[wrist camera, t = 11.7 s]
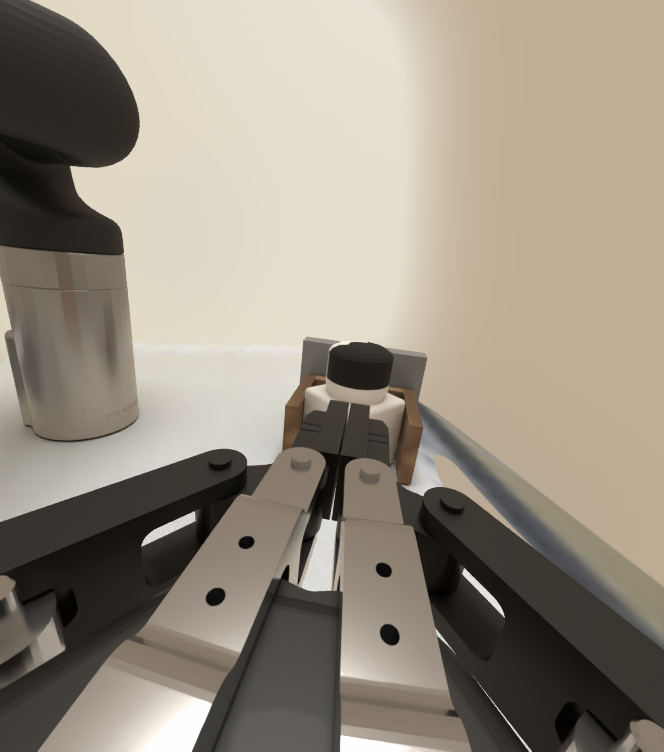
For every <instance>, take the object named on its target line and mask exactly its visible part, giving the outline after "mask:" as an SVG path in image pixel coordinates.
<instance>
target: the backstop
mask: <svg viewBox="0 0 664 752" xmlns="http://www.w3.org/2000/svg"><path fill="white" fill-rule="evenodd" d="M339 342H341V341H334V340H326V339H319V338H311V337H306V338H305V340H303V352H302V364H301V376H300V383H301V382H302V380H303V379H304V377H305V376H306V374H310V375H316V376H323V377H326V374H327V364H328V355H329V349H330V347H331V346H332V345H334V344H336V343H339ZM386 349H387V350H389V351H390V352H391V353H392V355H393V357H394V361H393V366H392V372H391V377H390V383H389V387H396V388H402V389H409V390H414V394H415V398H416V401H417V404H418V399H419V394H420V389H421V385H422V380H423V375H424V370H425V366H426V361H427V357H426V354H425V353H419V352H412V351H405V350H397V349H391V348H386Z"/></svg>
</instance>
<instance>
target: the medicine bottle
mask: <svg viewBox="0 0 664 752" xmlns="http://www.w3.org/2000/svg"><path fill="white" fill-rule="evenodd" d="M393 361H394V357H393V355H392V353H391V352H390V351H389V350H387V349H386V348H384V347H382V346H380V345H377V344H374V343H370V342H364V341H342V342H339V343H336V344H334V345H332V346H331V347H330V349H329V355H328V364H327V374H326V384H324V385H319V386H314V387H309V388H307V389H306V391H305V400H304V411H303V421H304V419H305V416H306V415H307V414H309V413H310V412H312V411H313V410H319V411H325V412H326V410H327V408H328V405H329V402H330V399H331V400H337V401H343V402H349V410H350V405H351V403H357V404H363V405H369V406H370V415H369V419H376V420H382V421H383V422H384V423H385V424H386V426H387V427H388V428H389V449H390V464H391V463H393V461H394V457H395V452H396V447H397V442H398V437H399V432H400V427H401V422H402V417H403V412H404V407H405V401H404V400H402V399H400V398H398V397H396V396H394V395H391V394H389V393H387V392H388V389H389V383H390V377H391V372H392V366H393ZM349 410H348V415H349ZM347 420H348V417H347ZM302 424H303V422H302Z"/></svg>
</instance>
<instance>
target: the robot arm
mask: <svg viewBox="0 0 664 752" xmlns="http://www.w3.org/2000/svg"><path fill="white" fill-rule="evenodd" d="M139 123H140V121H139V112H138V108H137V104H136V101H135V98H134V95H133V92H132V90H131V88H130V86H129V84H128V82H127V80H126V78H125V76H124V75H123V73H122V72H121V70H120V68H119V67H118V65H117V64H116V62H115V61H114V60H113V59H112V57H111V56H110V55H109V54H108V52H107V51H106V50H105V49H104V48H103V47H102V46H101V45H100V44H99V43H98V42H97V41H96V39H94V37H92V36H91V35H90V34H89V33H88V32H87V31H85V30H84V29H83V28H81V27H80V26H79V25H77V24H76V23H74V22H73V21H71V20H69V19H68V18H66V17H64V16H62V15H60V14H57V13H55V12H54V11H51V10H49V9H47V8H45V7H43V6H41V5H39V4H37V3H34V2H32V1H30V0H0V277H1V281H2V285H3V290H4V294H5V299H6V304H7V309H8V314H9V318H10V323H11V327H12V330H9V331H7V332H6V333H5V341H6V345H7V350H8V355H9V359H10V364H11V368H12V373H13V377H14V382H15V386H16V391H17V395H18V400H19V404H20V409H21V413H22V418H23V422H24V424H25V425H30V426H32V427H33V430H34V432H35V433H36V434H37V435H39V436H41V437H44V438H48V439H53V440H80V439H88V438H94V437H98V436H103V435H106V434H109V433H113V432H115V431H118V430H120V429H122V428H124V427H126V426H128V425H130V424H131V423H132V422H133V421H135V419H136V418H137V417H138V414H139V410H138V399H137V388H136V376H135V365H134V355H133V344H132V333H131V323H130V312H129V302H128V290H127V281H126V270H125V259H124V255H123V253H124V248H123V238H122V232H121V229H120V227H119V226H118V225H117V223H115V222H114V221H113V220H111V219H109V218H107V217H105V216H104V215H102V214H100V213H98V212H96V211H95V210H93V209H92V208H90V207H89V206H88V205H87V204H85V202H83V201H82V199H81V198H80V197H79V196H78V194H77V192H76V189H75V186H74V182H73V178H72V174H71V169H70V166H77V167H94V168H99V167H105V166H110V165H113V164H115V163H117V162H119V161H121V160H123V159H124V158H125V157H127V156H128V155H129V154H130V152H131V151H132V149H133V148H134V146H135V143H136V141H137V138H138V134H139V127H140V125H139ZM348 410H349V402H343V401H337V400H331V399H330V402H329V405H328V408H327V410H326V412H325V411H319V410H313V411H312V412H310V413H309V414H307V415H306V416H305V419H304V421H303V424H302V425H301V427H300V430H299V431H298V434H297V436H296V438H295V440H294V442H293V444H292V446H291V448H290V449H287V450H284V451H282V452H281V453H280V454H279V455H278V456H277V458H276V459H275V461H274V462H273V464H268V465H256V466H247V459H246V457H245V456H244V455H243V454H242V453H240V452H238V451H235V450H231V449H216V450H211V451H208V452H205V453H202V454H199V455H196V456H193V457H190V458H188V459H185V460H182V461H179V462H176V463H173V464H170V465H167V466H164V467H161V468H158V469H155V470H152V471H149V472H146V473H143V474H140V475H138V476H135V477H132V478H129V479H126V480H123V481H120V482H117V483H114V484H111V485H108V486H105V487H102V488H99V489H96V490H93V491H91V492H88V493H85V494H82V495H79V496H76V497H73V498H70V499H67V500H64V501H61V502H58V503H55V504H52V505H49V506H46V507H44V508H41V509H38V510H35V511H32V512H29V513H26V514H23V515H20V516H17V517H14V518H11V519H8V520H5V521H2V522H0V752H529V751H528V750H527V748H526V747H525V746H524V744H523V743H522V742H521V740H520V739H519V738H518V736H517V735H516V734H515V732H514V731H513V730H512V728H511V727H510V725H509V724H508V723H507V721H506V720H505V719H504V717H503V716H502V715H501V713H500V712H499V711H498V709H497V708H496V707H495V705H496V706H497V707H498V708H499V710H500V711H501V712H502V714H503V715H504V716H505V717H506V719H507V720H508V721H509V723H510V724H511V725H512V726H513V728H514V729H515V730H516V731H517V733H518V734H519V735H520V737H521V738H522V739H523V740H524V742H525V743H526V744H527V746H528V747H529V748H530V749H531V751H532V752H664V650H663V649H662V648H661V647H659V646H658V645H657V644H656V643H654V642H653V641H652V640H650V639H649V638H648V637H647V636H645V635H644V634H643V633H641V632H640V631H639V630H638V629H636V628H635V627H634V626H633V625H631V624H630V623H629V622H627V621H626V620H625V619H624V618H622V617H621V616H620V615H618V614H617V613H616V612H615V611H613V610H612V609H611V608H610V607H608V606H607V605H606V604H604V603H603V602H602V601H601V600H599V599H598V598H597V597H595V596H594V595H593V594H592V593H590V592H589V591H588V590H587V589H585V588H584V587H583V586H581V585H580V584H579V583H578V582H576V581H575V580H574V579H572V578H571V577H570V576H569V575H567V574H566V573H565V572H563V571H562V570H561V569H560V568H558V567H557V566H556V565H555V564H553V563H552V562H551V561H549V560H548V559H547V558H546V557H544V556H543V555H542V554H540V553H539V552H538V551H537V550H535V549H534V548H533V547H532V546H530V545H529V544H528V543H526V542H525V541H524V540H523V539H521V538H520V537H519V536H517V535H516V534H515V533H513V532H512V531H511V530H510V529H508V528H507V527H506V526H505V525H503V524H502V523H501V522H500V521H498V520H497V519H496V518H494V517H493V516H492V515H491V514H489V513H488V512H487V511H485V510H484V509H483V508H482V507H480V506H479V505H478V504H476V503H475V502H474V501H473V500H471V499H470V498H469V497H467V496H466V495H464V494H462V493H461V492H458V491H456V490H453V489H449V488H445V487H435V488H431V489H429V490H428V491H426V492H425V494H424V496H421V495H419V494H416V493H414V492H411V491H409V490H407V489H405V488H404V487H402V486H401V485H400V484H398V483H397V482H396V479H395V475H394V472H393V471H392V470H391V468H390V449H389V428H388V427H387V426H386V424H385V423H384V422H383V421H382V420H376V419H369V415H370V406H369V405H363V404H357V403H351V405H350V410H349V415H348ZM347 417H348V420H347ZM336 483H337V484H336ZM335 488H336V492H335ZM334 493H335V499H334ZM333 499H334V506H333V514H332V520H334V521H337V528H336V535H335V542H334V554H333V569H332V583H331V591H316V592H313V591H307V590H305V589H303V588H301V587H302V584H303V580H304V577H305V574H306V571H307V568H308V565H309V562H310V559H311V556H312V553H313V550H314V546H315V543H316V540H317V532H318V531H319V529H320V526H321V521H322V518H323V519H328V520H329V519H330V514H331V509H332V504H333ZM194 511H195V519H196V521H195V522H193V523H191V524H189V525H187V526H185V527H183V528H180V529H178V530H176V531H174V532H172V533H170V534H168V535H166V536H164V537H162V538H159V539H157V540H155V541H153V542H151V543H149V544H147V545H145V546H142V547H141V545H142V542H143V540H144V539H145V537H146V536H147V535H148V534H149V533H150V532H152V531H153V530H155V529H156V528H158V527H161V526H163V525H165V524H167V523H169V522H172V521H174V520H176V519H178V518H180V517H183V516H185V515H187V514H189V513H192V512H194ZM464 568H465V569H466V570H467V571H468V572H469V573H470V574H471V575H472V576H473V577H474V578H475V579H476V580H477V581H478V582H479V583H480V584H481V585H482V586H483V587H484V588H485V589H486V590H487V591H488V592H489V593H490V594H491V595H492V596H493V597H494V598H495V599H496V600H497V602H498V603H499V604H500V606H501V608H502V610H503V612H504V615H505V618H504V617H503V616H502V615H501V614H500V613H499V612H498V611H497V610H496V609H495V608H494V607H493V606H492V604H491V603H490V602H489V601H488V600H487V599H486V598H485V597H484V596H483V595H482V594H481V593H480V592H479V591H478V590H477V589H476V588H475V587H474V586H473V585H472V584H471V583H470V582H469V581H468V580H467V579H466V578H465V577H464V576H463V575H462V573H463V570H464ZM435 628H436V629H437V630H438V632H439V633H440V634H441V636H442V637H443V638H444V639H445V641H446V642H447V643H448V644H449V646H450V647H451V648H452V650H453V651H454V652H455V653H456V654H455V653H454V652H453V651H452V650H451V649H450V648H449V647H448V646H447V645H446V644H445V643H444V642H443V641H442V640H441V639H440V638H439V637H438V636H437V634H436V629H435ZM458 657H459V658H458ZM466 667H467V668H466ZM469 671H470V672H469ZM472 675H473V676H474V677H473V676H472ZM475 679H476V680H477V681H476V680H475ZM478 683H479V684H480V685H481V686H480V685H479V684H478ZM481 687H482V688H483V689H484V690H483V689H482V688H481ZM484 691H485V692H486V693H487V694H488V696H489V697H490V698H491V699H492V701H493V702H494V703H495V705H494V704H493V703H492V701H491V700H490V699H489V697H488V696H487V695H486V693H485V692H484Z"/></svg>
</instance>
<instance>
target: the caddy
mask: <svg viewBox="0 0 664 752" xmlns="http://www.w3.org/2000/svg"><path fill="white" fill-rule="evenodd" d="M324 384H326V377H323V376H316V375H310V374H306V376H305V377H304V379H303V380H302V382H301V383H300V385H299V386H298V388H297V389H296V391H295V392H294V394H293V395H292V397H291V398H290V400H289V401H288V403H287V404H286V405H285V420H284V434H283V449H282V451H284V450H287V449H290V448H291V446H292V444H293V442H294V440H295V438H296V436H297V434H298V431H299V430H300V427H301V425H302V422H303V411H304V400H305V391H306V389H307V388H309V387H314V386H319V385H324ZM387 393H389V394H391V395H394V396H396V397H398V398H400V399H402V400H404V401H405V407H404V412H403V417H402V422H401V427H400V432H399V437H398V442H397V447H396V452H395V455H396V469H397V482H399V483H404V484H411V480H412V475H413V471H414V466H415V462H416V457H417V453H418V448H419V444H420V440H421V435H422V431H423V425H422V421H421V417H420V413H419V409H418V405H417V401H416V398H415V394H414V390H409V389H402V388H396V387H389V389H388V392H387Z"/></svg>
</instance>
